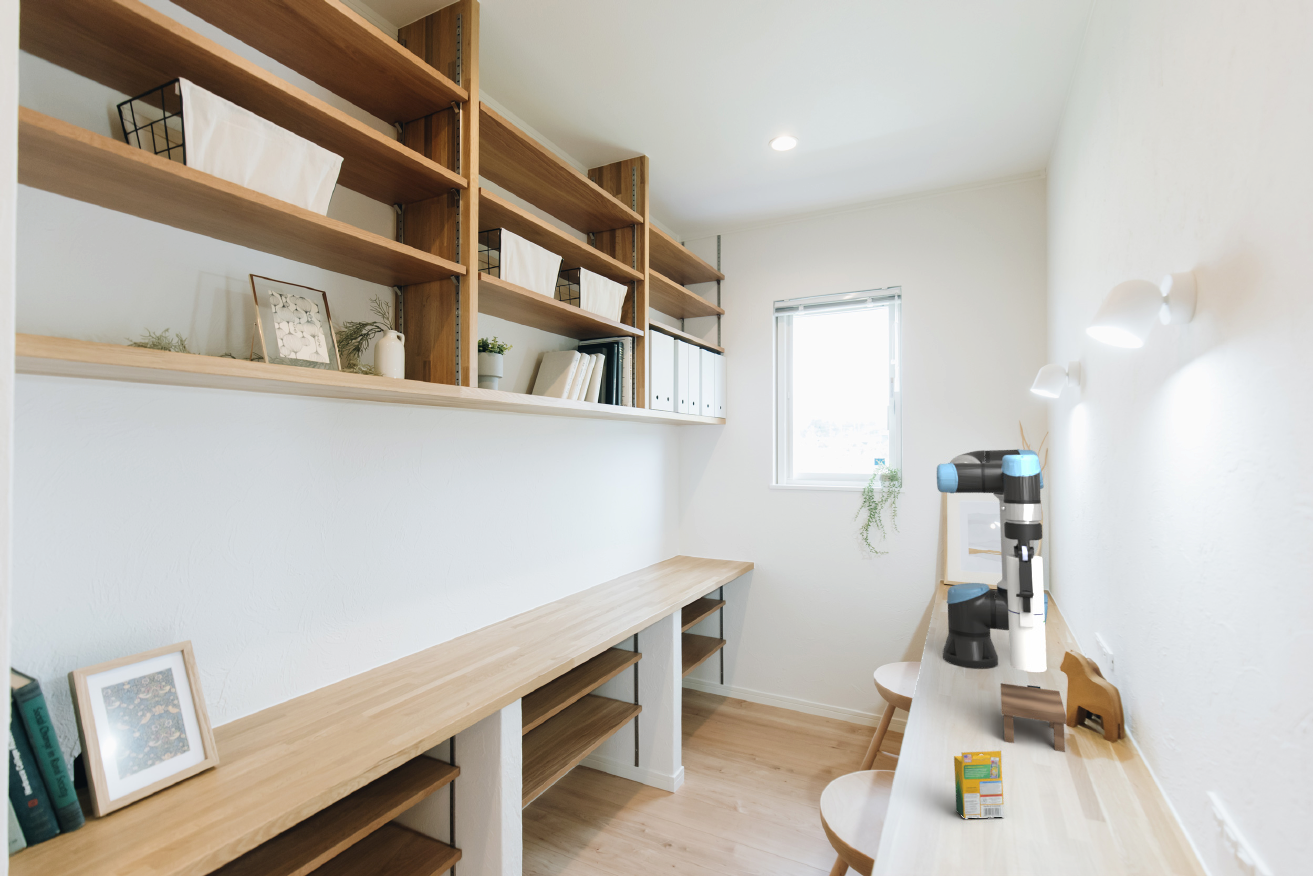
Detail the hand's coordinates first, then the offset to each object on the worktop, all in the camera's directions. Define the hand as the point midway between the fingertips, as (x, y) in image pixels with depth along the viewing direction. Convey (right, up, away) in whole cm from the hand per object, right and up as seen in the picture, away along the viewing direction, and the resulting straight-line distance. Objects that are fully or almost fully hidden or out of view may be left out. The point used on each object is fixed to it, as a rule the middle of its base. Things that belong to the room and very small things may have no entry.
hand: (1026, 622), depth 143 cm
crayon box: (-27, -25, -32) cm, 49 cm away
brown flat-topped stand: (+1, -25, -1) cm, 25 cm away
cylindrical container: (0, -10, 0) cm, 10 cm away
